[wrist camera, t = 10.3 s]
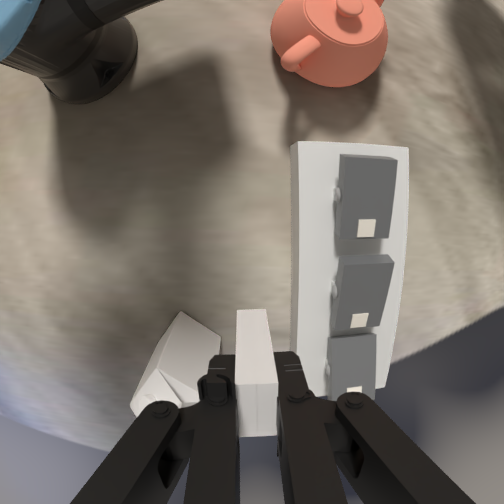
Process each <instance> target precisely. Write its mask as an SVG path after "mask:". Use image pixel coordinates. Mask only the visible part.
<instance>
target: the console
mask: <svg viewBox="0 0 504 504" xmlns="http://www.w3.org/2000/svg"><path fill="white" fill-rule="evenodd" d="M340 154H353V155H371V156H386V157H392V158H394V159H396V160H398V164H397V175H396V185H395V194H394V202H393V210H392V218H391V225H390V232H389V238H388V239H344V240H339V238H338V237H337V235H336V234H335V222H336V209H337V202H336V201H335V189H336V188H338V178H339V158H340ZM290 159H291V327H290V351H293V352H294V353H296V354H297V355H298V356H299V358H300V361H301V365H302V368H303V371H304V374H305V378H306V381H307V384H308V388H309V389H310V390H311V391H313V393H314V394H315V396H316V397H318V396H327V395H328V377H327V375H326V365H328V337H330V336H341V335H351V334H361V333H370V332H371V333H374V334H377V338H376V383H375V389H377V388H382V387H385V384H386V380H387V375H388V370H389V365H390V361H391V356H392V350H393V345H394V339H395V334H396V328H397V321H398V315H399V308H400V301H401V293H402V285H403V276H404V266H405V255H406V242H407V226H408V202H409V150H408V147H398V146H387V145H374V144H360V143H342V142H316V141H297V142H296V143H294V144H292V145H291V146H290ZM379 254H388V255H389V256H390V257H391V259H392V260H393V261H394V262H395V264H394V268H393V273H392V278H391V282H390V286H389V291H388V295H387V299H386V303H385V307H384V311H383V314H382V318H381V322H380V326H376V327H367V328H357V329H347V330H335V331H334V329H333V327H332V324H331V321H330V318H331V312H332V305H333V299H334V298H333V296H332V286H333V285H336V277H337V270H338V262H339V256H353V255H379Z"/></svg>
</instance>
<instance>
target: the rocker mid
mask: <svg viewBox="0 0 504 504" xmlns="http://www.w3.org/2000/svg"><path fill="white" fill-rule="evenodd" d="M394 264H395V262H394V261H393V260H392V259H391V257H390V256H389V255H388V254H379V255H353V256H339V262H338V270H337V277H336V285H333V286H332V296H333V298H334V299H333V305H332V312H331V318H330V321H331V324H332V327H333V329H334V331H335V330H347V329H357V328H367V327H376V326H380V322H381V318H382V314H383V311H384V307H385V303H386V299H387V295H388V291H389V286H390V282H391V278H392V273H393V268H394Z"/></svg>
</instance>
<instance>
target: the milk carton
mask: <svg viewBox="0 0 504 504" xmlns="http://www.w3.org/2000/svg"><path fill="white" fill-rule="evenodd" d="M220 343H221V337H220V336H219V335H217V334H216V333H214V332H213V331H211V330H209V329H208V328H206V327H205V326H203V325H202V324H200V323H198V322H197V321H195V320H194V319H192V318H191V317H189V316H188V315H186V314H185V313H183V312H182V311H180V312H179V313H178V315H177V316H176V317H175V319H174V320H173V322H172V323H171V325H170V326H169V327H168V329H167V330H166V332H165V333H164V335H163V336H162V337H161V339H160V340H159V342H158V343H157V346H156V348H155V350H154V352H153V354H152V356H151V358H150V361H149V363H148V365H147V367H146V369H145V371H144V374H143V376H142V378H141V380H140V382H139V385H138V387H137V389H136V391H135V393H134V396H133V398H132V400H131V403H130V407H131V409H132V411H133V412H134V414H135V416H136V417H138V416H139V414H140V413H141V412H142V410H143V409H144V408H145V407H146V406H147V405H148V404H150V403H152V402H155V401H160V400H164V401H170V402H173V403H175V404H176V405H177V406H178V408H183V407H188V406H192V405H194V404H196V403H198V402H199V394H198V387H197V382H198V380H199V378H201V377H202V376H203V375H206V374H207V372H208V365H209V361H210V360H211V358H212V357H213V356H214V355H219V351H220Z"/></svg>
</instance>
